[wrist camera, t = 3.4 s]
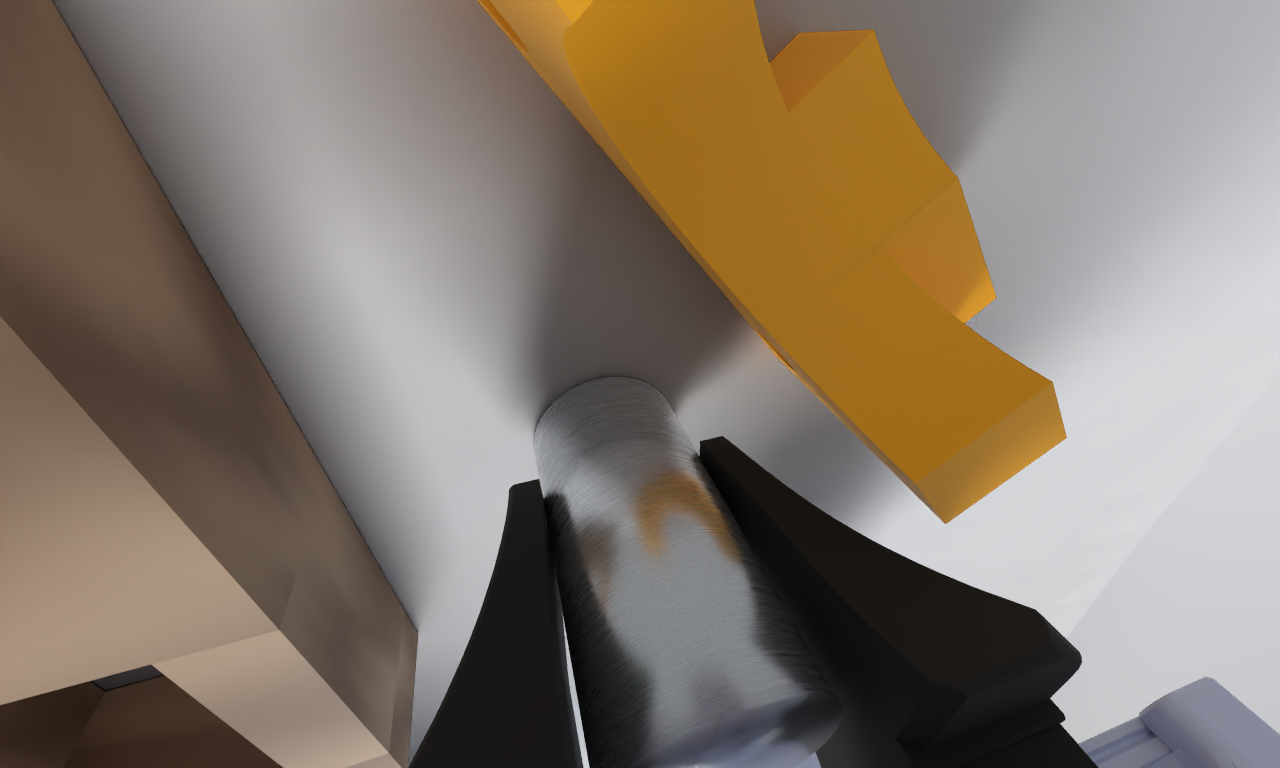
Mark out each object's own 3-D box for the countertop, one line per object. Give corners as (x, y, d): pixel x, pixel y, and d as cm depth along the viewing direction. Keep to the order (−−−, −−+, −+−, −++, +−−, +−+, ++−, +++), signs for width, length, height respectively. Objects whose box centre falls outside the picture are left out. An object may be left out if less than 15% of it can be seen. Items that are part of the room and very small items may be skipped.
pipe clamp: (896, 250, 14) (1157, 373, 8) (774, 355, 14) (945, 524, 9) (611, -354, 7) (1139, -1788, 1) (407, -81, 7) (279, -367, 2)
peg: (672, 470, 15) (818, 767, 9) (545, 502, 14) (608, 853, 8) (672, 364, 13) (869, 662, 7) (521, 393, 12) (584, 767, 6)
